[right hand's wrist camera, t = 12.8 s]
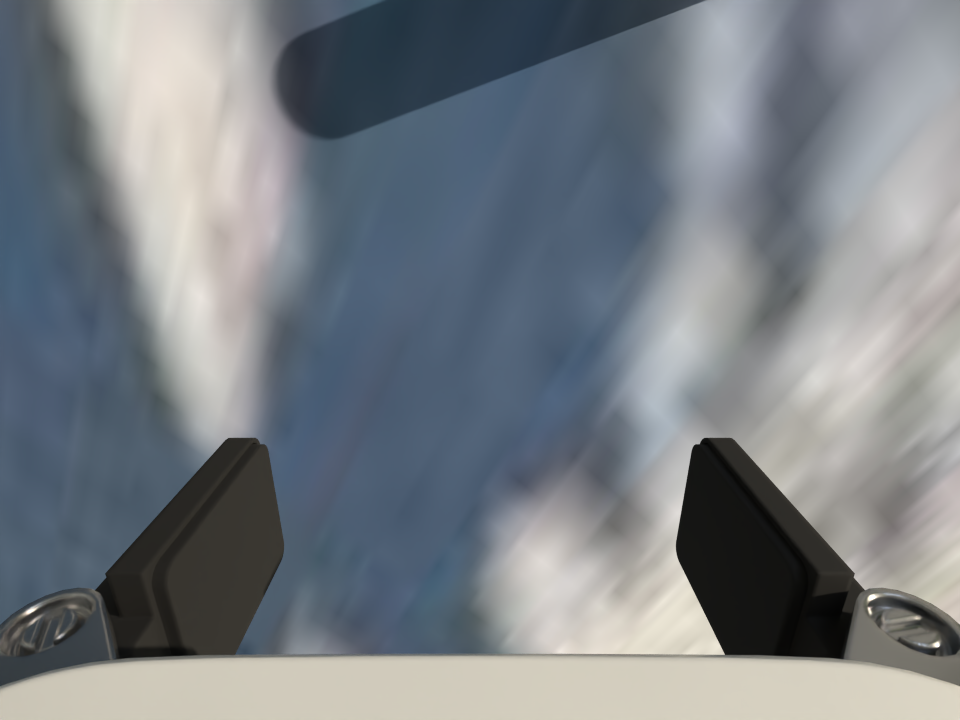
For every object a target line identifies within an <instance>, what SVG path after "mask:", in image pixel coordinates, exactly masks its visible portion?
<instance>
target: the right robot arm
mask: <svg viewBox="0 0 960 720" xmlns="http://www.w3.org/2000/svg"><path fill="white" fill-rule="evenodd" d="M283 552H284V540H283V535H282V529H281V523H280V517H279V511H278V505H277V500H276V494H275V488H274V482H273V476H272V470H271V465H270V459H269V453H268V449H267V447H266V445H264V444H260V443H259V441H258V439H256V438H228V439H227V440H225V441H224V442H223V444H222V445H221V446H220V447H219V448H218V449H217V450H216V451H215V452H214V454H213V455H212V456H211V457H210V458H209V459H208V460H207V461H206V462H205V464H204V465H203V466H202V467H201V468H200V469H199V470H198V471H197V472H196V474H195V475H194V476H193V477H192V478H191V479H190V480H189V481H188V482H187V484H186V485H185V486H184V487H183V488H182V489H181V490H180V491H179V492H178V494H177V495H176V496H175V497H174V498H173V499H172V500H171V501H170V502H169V504H168V505H167V506H166V507H165V508H164V509H163V510H162V511H161V512H160V514H159V515H158V516H157V517H156V518H155V519H154V520H153V521H152V522H151V524H150V525H149V526H148V527H147V528H146V529H145V530H144V531H143V532H142V533H141V535H140V536H139V537H138V538H137V539H136V540H135V541H134V542H133V543H132V545H131V546H130V547H129V548H128V549H127V550H126V551H125V552H124V553H123V555H122V556H121V557H120V558H119V559H118V560H117V561H116V562H115V563H114V565H113V566H112V567H111V568H110V569H109V570H108V571H107V572H106V573H105V574H106V577H107V578H106V579H105V580H104V581H103V582H102V583H101V584H100V585H99V587H98V588H97V589H96V590H92V589H88V588H73V589H67V590H62V591H59V592H55V593H52V594H49V595H46V596H44V597H42V598H40V599H38V600H35V601H33V602H31V603H29V604H27V605H26V606H24V607H23V608H21V609H20V610H18V611H17V612H15V613H14V614H12V615H11V616H10V617H9V618H7V619H6V620H5V621H4V622H3V623H2V624H1V625H0V720H960V625H959V624H958V623H957V622H956V621H955V620H954V619H953V618H951V617H950V616H949V615H948V614H946V613H945V612H943V611H942V610H940V609H939V608H937V607H936V606H934V605H933V604H931V603H929V602H927V601H925V600H922V599H920V598H918V597H916V596H914V595H911V594H908V593H905V592H901V591H898V590H893V589H887V588H872V589H868V590H864V589H863V588H862V587H861V585H860V584H859V583H858V582H857V581H856V580H855V579H854V578H853V577H854V574H855V573H854V572H853V571H852V570H851V569H850V568H849V567H848V566H847V565H846V563H845V562H844V561H843V560H842V559H841V558H840V557H839V556H838V555H837V553H836V552H835V551H834V550H833V549H832V548H831V547H830V546H829V545H828V543H827V542H826V541H825V540H824V539H823V538H822V537H821V536H820V535H819V533H818V532H817V531H816V530H815V529H814V528H813V527H812V526H811V525H810V524H809V522H808V521H807V520H806V519H805V518H804V517H803V516H802V515H801V514H800V512H799V511H798V510H797V509H796V508H795V507H794V506H793V505H792V504H791V502H790V501H789V500H788V499H787V498H786V497H785V496H784V495H783V494H782V492H781V491H780V490H779V489H778V488H777V487H776V486H775V485H774V484H773V482H772V481H771V480H770V479H769V478H768V477H767V476H766V475H765V474H764V472H763V471H762V470H761V469H760V468H759V467H758V466H757V465H756V464H755V462H754V461H753V460H752V459H751V458H750V457H749V456H748V455H747V454H746V452H745V451H744V450H743V449H742V448H741V447H740V446H739V445H738V444H737V442H736V441H735V440H733V439H732V438H704V439H702V441H701V443H700V444H696V445H694V447H693V449H692V453H691V459H690V465H689V470H688V476H687V482H686V488H685V494H684V500H683V505H682V511H681V517H680V523H679V529H678V535H677V540H676V552H677V557H678V560H679V562H680V564H681V566H682V568H683V570H684V572H685V574H686V576H687V578H688V580H689V582H690V584H691V587H692V589H693V591H694V593H695V595H696V597H697V599H698V601H699V603H700V605H701V607H702V609H703V611H704V613H705V615H706V617H707V619H708V621H709V623H710V625H711V627H712V629H713V631H714V633H715V635H716V637H717V639H718V641H719V643H720V645H721V647H722V649H723V651H724V653H725V655H659V654H301V655H235V653H236V651H237V649H238V647H239V645H240V643H241V641H242V639H243V637H244V635H245V633H246V631H247V629H248V627H249V625H250V623H251V621H252V619H253V617H254V615H255V613H256V611H257V609H258V607H259V605H260V603H261V601H262V599H263V597H264V595H265V593H266V591H267V589H268V587H269V584H270V582H271V580H272V578H273V576H274V574H275V572H276V570H277V568H278V566H279V564H280V562H281V560H282V557H283Z"/></svg>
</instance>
